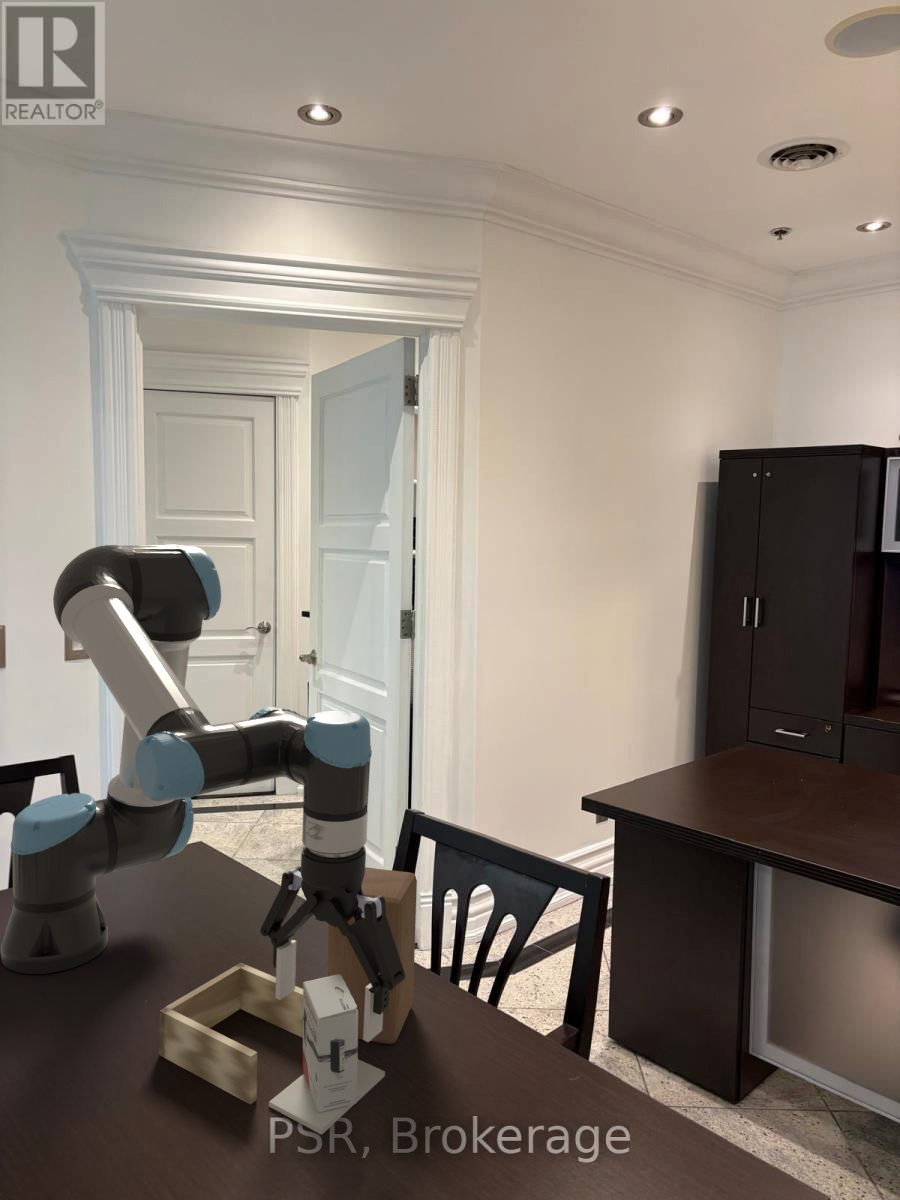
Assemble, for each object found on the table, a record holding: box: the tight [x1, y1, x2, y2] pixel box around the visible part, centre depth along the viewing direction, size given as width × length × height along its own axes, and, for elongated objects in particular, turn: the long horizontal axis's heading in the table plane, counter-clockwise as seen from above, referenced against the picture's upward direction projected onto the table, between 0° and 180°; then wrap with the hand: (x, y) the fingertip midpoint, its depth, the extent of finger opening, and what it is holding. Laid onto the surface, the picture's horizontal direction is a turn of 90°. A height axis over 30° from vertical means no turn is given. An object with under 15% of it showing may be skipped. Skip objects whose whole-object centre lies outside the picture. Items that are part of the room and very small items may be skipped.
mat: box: [268, 1058, 386, 1136], centre depth 101 cm, size 8×12×1 cm, turn 148°
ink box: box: [302, 975, 359, 1112], centre depth 101 cm, size 8×5×12 cm, turn 22°
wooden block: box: [326, 866, 418, 1045], centre depth 115 cm, size 10×10×20 cm
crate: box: [158, 962, 303, 1105], centre depth 108 cm, size 16×14×6 cm
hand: (327, 1014), depth 101 cm, fingers open, 13 cm apart
